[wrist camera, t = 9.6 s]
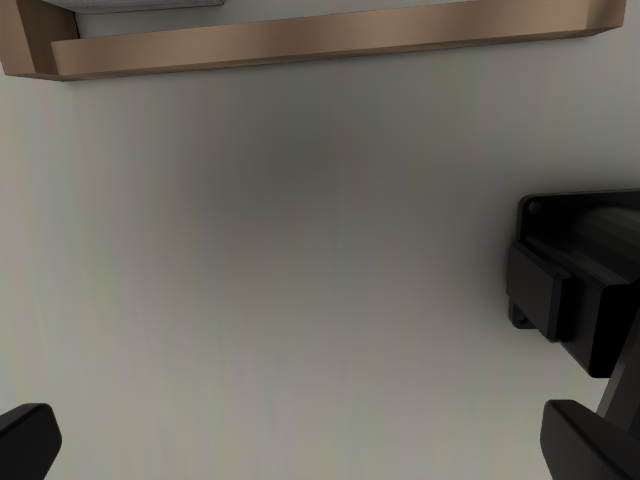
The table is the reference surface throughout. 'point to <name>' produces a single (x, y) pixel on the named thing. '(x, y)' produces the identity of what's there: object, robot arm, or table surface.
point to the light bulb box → (127, 5)
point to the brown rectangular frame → (284, 36)
